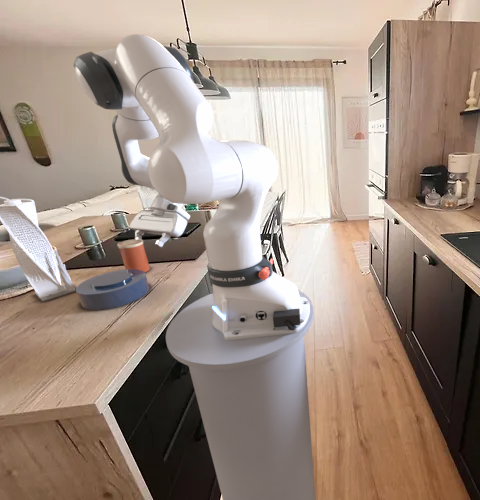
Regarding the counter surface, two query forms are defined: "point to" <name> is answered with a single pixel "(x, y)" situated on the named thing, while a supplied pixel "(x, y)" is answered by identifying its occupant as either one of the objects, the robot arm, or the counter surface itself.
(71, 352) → the counter surface
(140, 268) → the terracotta cup
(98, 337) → the counter surface
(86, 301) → the blue round puck
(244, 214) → the robot arm
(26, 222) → the skyscraper
